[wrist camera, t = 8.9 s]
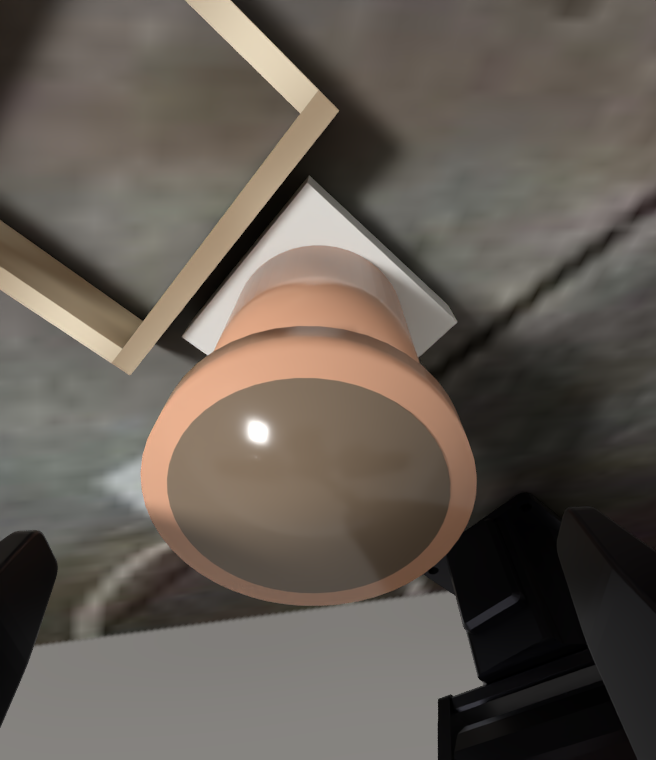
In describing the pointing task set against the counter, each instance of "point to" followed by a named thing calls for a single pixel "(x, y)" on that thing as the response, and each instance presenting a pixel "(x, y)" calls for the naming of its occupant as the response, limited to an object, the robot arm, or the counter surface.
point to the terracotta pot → (311, 442)
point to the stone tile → (330, 228)
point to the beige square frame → (136, 337)
